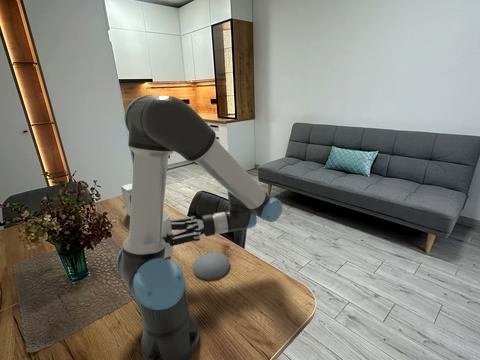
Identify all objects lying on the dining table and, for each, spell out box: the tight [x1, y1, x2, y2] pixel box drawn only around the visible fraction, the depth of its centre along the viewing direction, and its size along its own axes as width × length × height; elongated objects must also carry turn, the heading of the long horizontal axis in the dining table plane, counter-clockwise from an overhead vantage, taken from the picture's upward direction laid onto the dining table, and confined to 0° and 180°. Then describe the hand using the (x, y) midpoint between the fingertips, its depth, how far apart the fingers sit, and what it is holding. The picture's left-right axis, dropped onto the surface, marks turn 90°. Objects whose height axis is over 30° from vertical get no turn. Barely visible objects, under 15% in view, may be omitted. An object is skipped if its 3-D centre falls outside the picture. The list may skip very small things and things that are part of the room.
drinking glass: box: [161, 211, 175, 259], centre depth 88 cm, size 7×7×15 cm
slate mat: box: [192, 252, 230, 280], centre depth 98 cm, size 14×14×1 cm
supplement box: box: [120, 182, 132, 217], centre depth 140 cm, size 10×9×17 cm
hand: (147, 236), depth 87 cm, fingers closed on drinking glass, 6 cm apart
